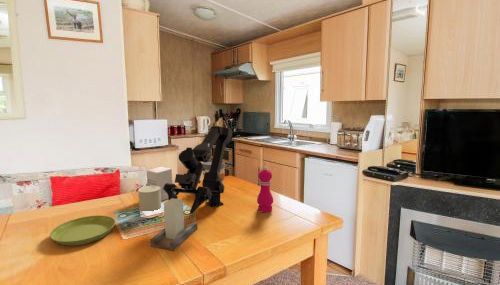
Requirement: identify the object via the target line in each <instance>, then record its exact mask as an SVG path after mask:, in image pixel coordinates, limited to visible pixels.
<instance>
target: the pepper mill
mask: <svg viewBox="0 0 500 285" xmlns="http://www.w3.org/2000/svg"><path fill="white" fill-rule="evenodd" d="M257 176H258V179H259V185H260V190H259V192H258V195H257V199H256V201H257V204H258V206H257V209H258V212H261V213H271V212H272V211H273V206H272V205H273V203H274V198H273V197H274V196H273V194H272V192H271V190H270V188H271V184H272V181H271V180H272V178H273V173H272V171H270V170H269V169H268V167H267V166H263V167H262V170H260V171H259V172H258V175H257Z"/></svg>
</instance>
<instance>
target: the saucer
mask: <svg viewBox="0 0 500 285" xmlns="http://www.w3.org/2000/svg"><path fill="white" fill-rule="evenodd" d="M115 225H116V220H115V218H114V217H111V216H108V215H99V214H98V215H88V216H83V217H78V218H75V219H71V220H68V221H66V222H63V223H62V224H59V225H58V226H56V227H54V228H53V229H52V230H51V232H50V233H49V238H51V240H53V242H56V243H58V244H60V245H63V246H68V247H70V246H71V247H72V246H73V247H75V246H83V245H86V244H91V243H93V242H96V241H98V240H101V239H102V238H104V237H106V236H107V235H108V234H109V233H111V231H112V230H113V228H114V227H115Z"/></svg>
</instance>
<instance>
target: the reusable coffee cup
mask: <svg viewBox="0 0 500 285" xmlns="http://www.w3.org/2000/svg"><path fill="white" fill-rule="evenodd" d="M225 162H226V161H224V160H222V165H221V169H220V175H221V178H222V183H223V184H224V180H225V175H226V174H225V173H226V171H225V169H226V163H225ZM211 163H212V159H211V160H210V159H209V161H208V162H202V164H203V165H204V168H205V171H202V176H203V177H204V174H205V173H206V172H209V171H210V167H211Z"/></svg>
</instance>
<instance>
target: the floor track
mask: <svg viewBox="0 0 500 285" xmlns="http://www.w3.org/2000/svg"><path fill="white" fill-rule="evenodd" d="M198 228H199V227H198V222H197V221H196V222H195V221H193V222H192V223H191V224H189V225H184V231H183V232H182V233H180V234H179V235H178V236H177V237H176V238H175V239H169V238H166V232H165V228H163V229H162V230H161V231H159V232H158V233H157V234H156V235H154V236H153V237H151V238H150V241H149V242H150V247H152V248H158V249H163V250H168V251H175V250H177V249H178V248H179V247H180V246H181V245H182V244H183V243H184V242H186V240H187V239H188V238H189V237H191V236H192V235H194V233H195V232H196V231H197V230H198Z"/></svg>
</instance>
